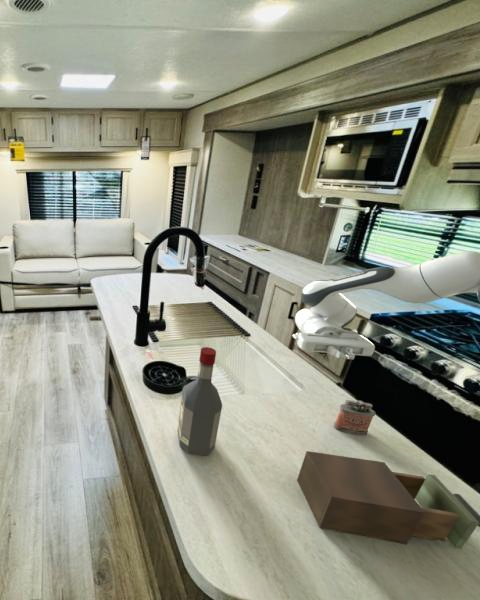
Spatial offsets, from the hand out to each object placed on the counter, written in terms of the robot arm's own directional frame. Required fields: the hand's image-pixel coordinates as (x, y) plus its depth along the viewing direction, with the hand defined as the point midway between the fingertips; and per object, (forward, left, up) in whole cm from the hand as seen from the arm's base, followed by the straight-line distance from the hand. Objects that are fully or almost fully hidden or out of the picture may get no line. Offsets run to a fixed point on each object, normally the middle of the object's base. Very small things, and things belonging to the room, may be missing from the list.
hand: (346, 357), depth 95 cm
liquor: (+45, +25, -18) cm, 55 cm away
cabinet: (+14, +38, -18) cm, 44 cm away
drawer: (+2, +38, -17) cm, 42 cm away
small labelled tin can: (0, +11, -18) cm, 21 cm away
